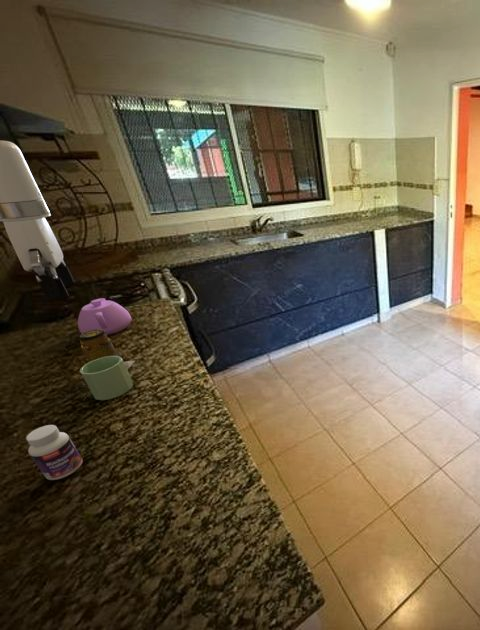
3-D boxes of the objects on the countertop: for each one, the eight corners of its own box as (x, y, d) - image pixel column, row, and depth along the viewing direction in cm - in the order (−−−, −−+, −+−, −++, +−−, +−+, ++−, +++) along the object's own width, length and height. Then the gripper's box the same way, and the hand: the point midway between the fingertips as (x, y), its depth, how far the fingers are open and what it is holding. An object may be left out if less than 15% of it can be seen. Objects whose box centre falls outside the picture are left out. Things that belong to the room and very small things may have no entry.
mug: (91, 404, 84) (77, 378, 80) (95, 387, 90) (82, 362, 86) (132, 392, 88) (120, 366, 84) (133, 376, 94) (122, 352, 90)
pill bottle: (57, 484, 64) (31, 447, 60) (39, 476, 66) (12, 439, 61) (90, 461, 69) (68, 425, 64) (72, 454, 70) (50, 419, 66)
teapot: (132, 312, 130) (121, 286, 125) (134, 332, 116) (122, 303, 111) (83, 322, 122) (70, 295, 118) (80, 345, 108) (64, 315, 104)
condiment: (102, 364, 99) (84, 328, 94) (135, 360, 101) (119, 325, 96) (87, 380, 93) (66, 342, 87) (123, 375, 95) (105, 337, 89)
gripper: (5, 206, 71) (45, 283, 79) (-22, 219, 59) (29, 308, 67) (54, 203, 76) (88, 276, 83) (39, 214, 63) (80, 299, 71)
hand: (62, 290), depth 75 cm, fingers open, 9 cm apart
